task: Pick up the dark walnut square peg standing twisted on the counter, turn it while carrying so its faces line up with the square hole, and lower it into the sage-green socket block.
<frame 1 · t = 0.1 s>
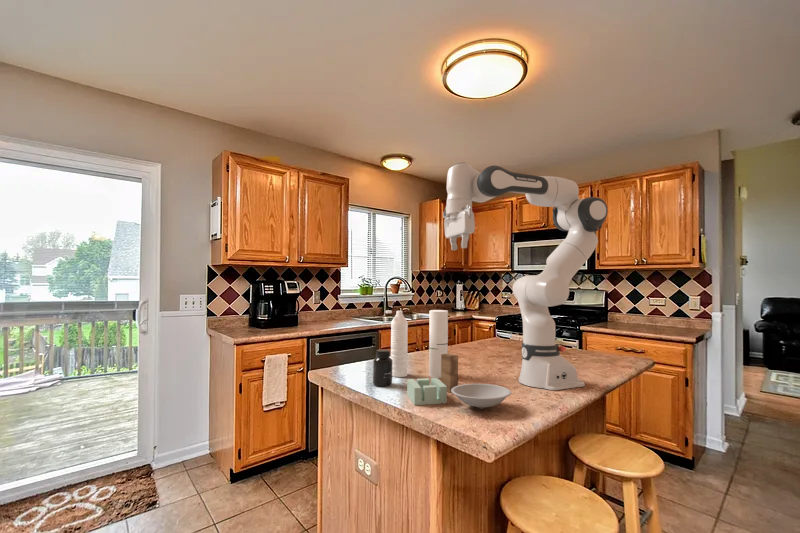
hand: (459, 249, 131), 48 cm above the countertop, tool pointing down, fingers open, 8 cm apart
supplement bottle: (382, 385, 132), on the countertop
peg: (449, 390, 126), on the countertop
water bottle: (396, 376, 144), on the countertop
dish: (480, 408, 109), on the countertop
socket: (426, 398, 117), on the countertop
cylindrical container: (438, 376, 145), on the countertop
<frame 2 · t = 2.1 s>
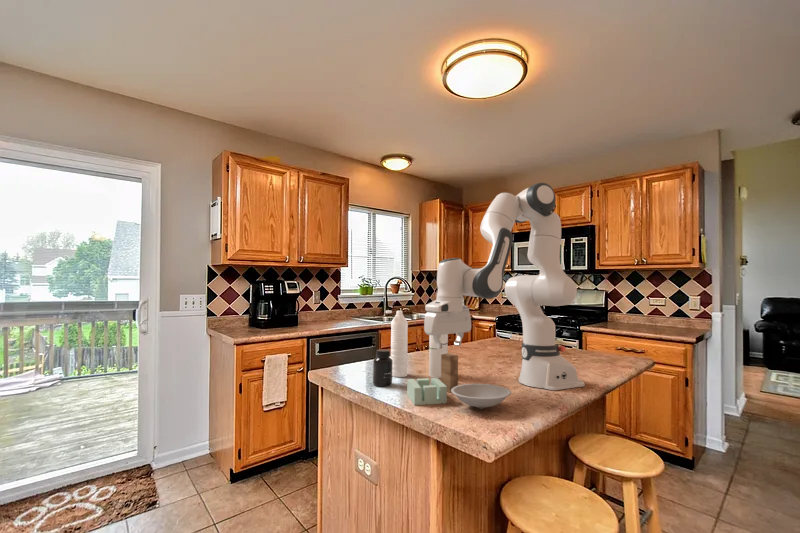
hand: (448, 347, 126), 15 cm above the countertop, tool pointing down, fingers open, 8 cm apart
nothing on the countertop moved.
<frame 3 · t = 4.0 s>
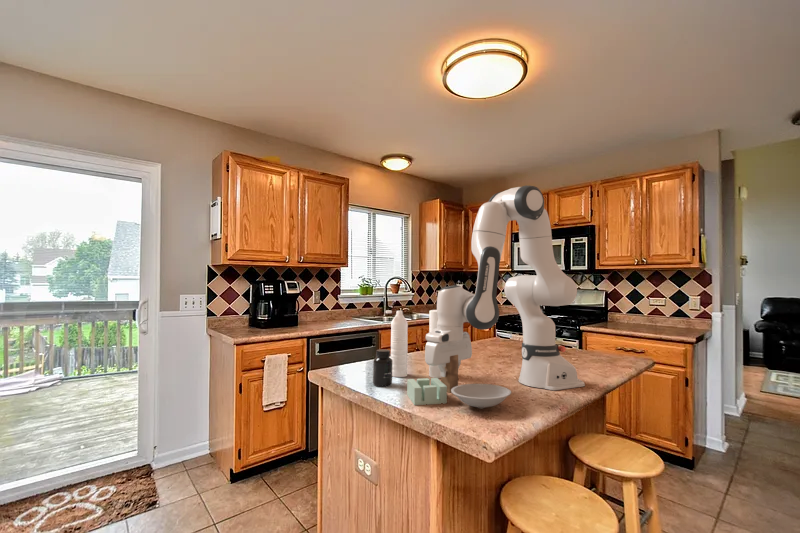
hand: (449, 375, 126), 5 cm above the countertop, tool pointing down, fingers closed on peg, 4 cm apart
peg: (449, 390, 126), on the countertop, touching gripper
everything else where it was.
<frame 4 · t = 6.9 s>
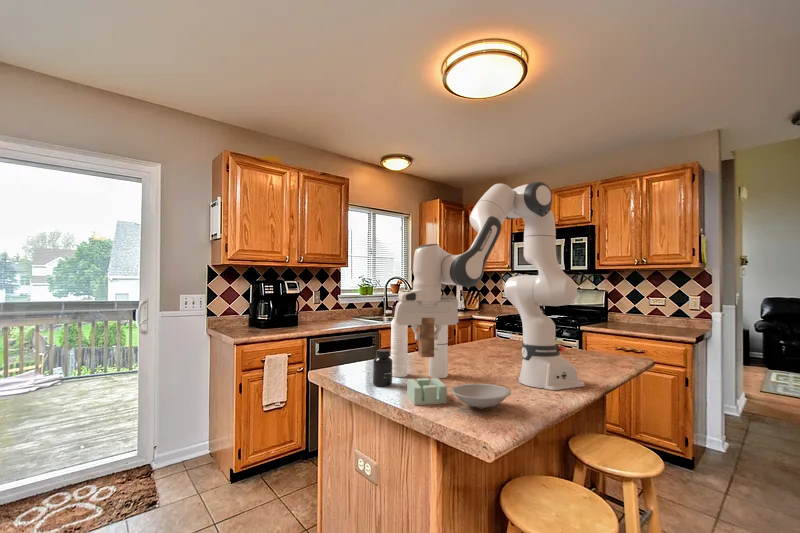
hand: (426, 339, 117), 18 cm above the countertop, tool pointing down, fingers closed on peg, 4 cm apart
peg: (426, 355, 117), point 13 cm above the countertop, touching gripper
everything else where it was.
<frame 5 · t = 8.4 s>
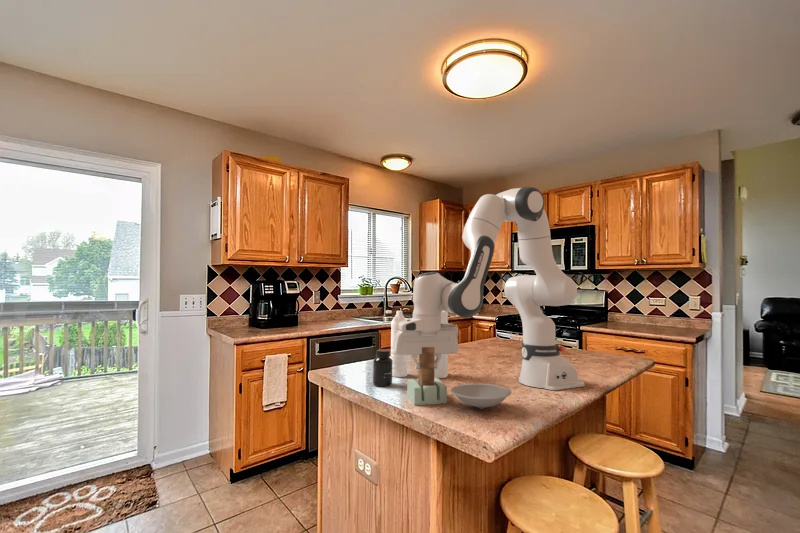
hand: (426, 368, 117), 9 cm above the countertop, tool pointing down, fingers closed on peg, 4 cm apart
peg: (426, 384, 117), point 4 cm above the countertop, touching gripper
everything else where it was.
when the fingers open (7 cm above the countertop, at t = 9.7 s): peg stays where it is, resting on socket.
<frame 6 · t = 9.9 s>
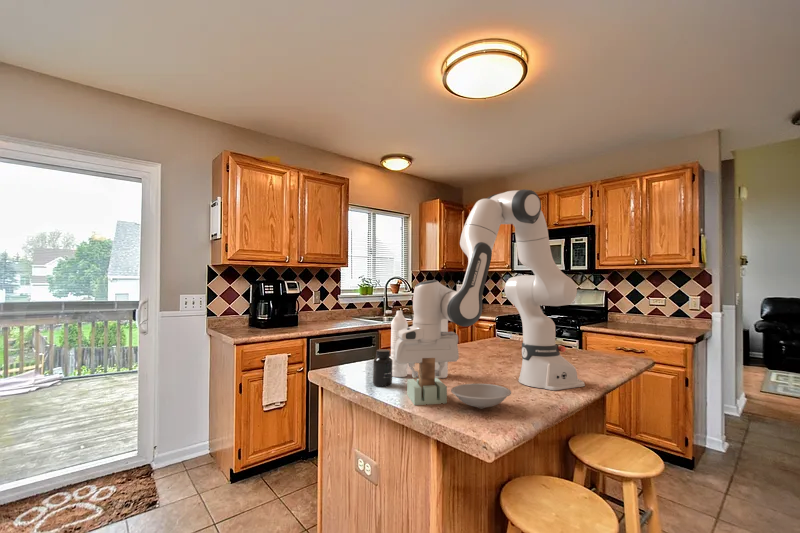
hand: (426, 376, 117), 7 cm above the countertop, tool pointing down, fingers open, 6 cm apart
peg: (426, 395, 117), point 1 cm above the countertop, touching socket
everything else where it was.
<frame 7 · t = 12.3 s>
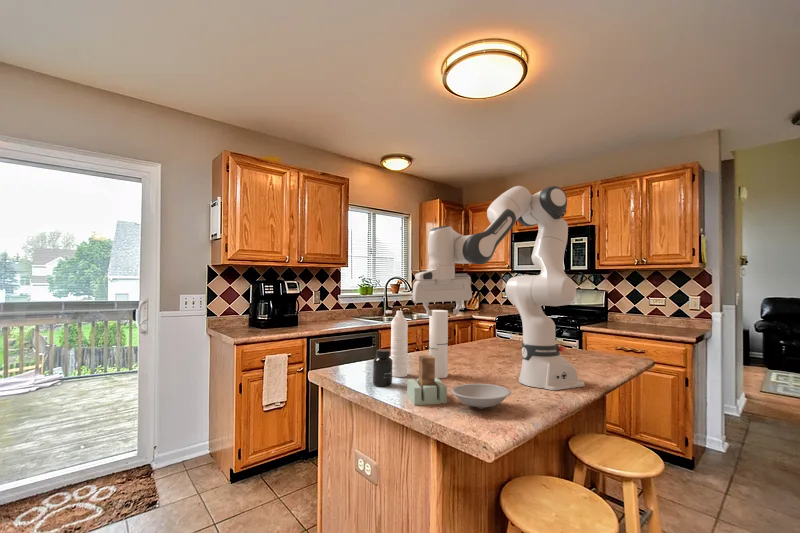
hand: (442, 315, 126), 25 cm above the countertop, tool pointing down, fingers open, 8 cm apart
nothing on the countertop moved.
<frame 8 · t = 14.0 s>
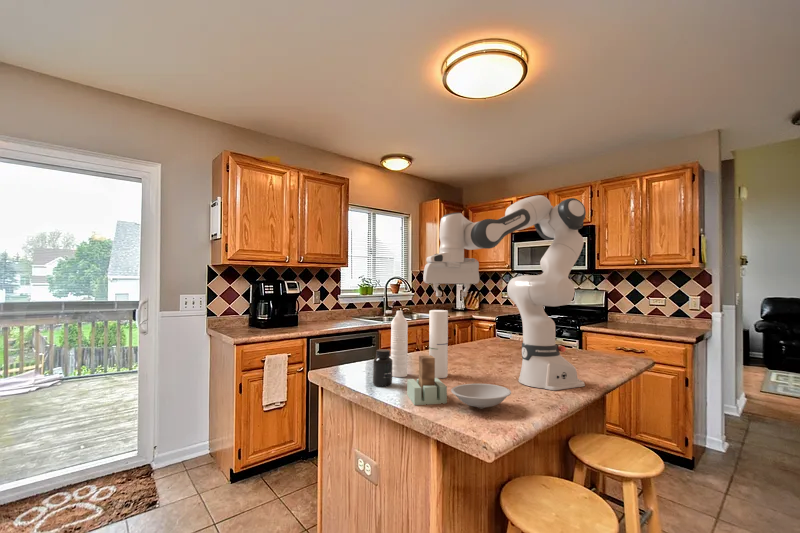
hand: (451, 296, 134), 31 cm above the countertop, tool pointing down, fingers open, 8 cm apart
nothing on the countertop moved.
at the end: peg 0.1 cm off-centre on the socket, point 1.0 cm above the socket's base; peg tilted 0°; the gripper is holding nothing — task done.
